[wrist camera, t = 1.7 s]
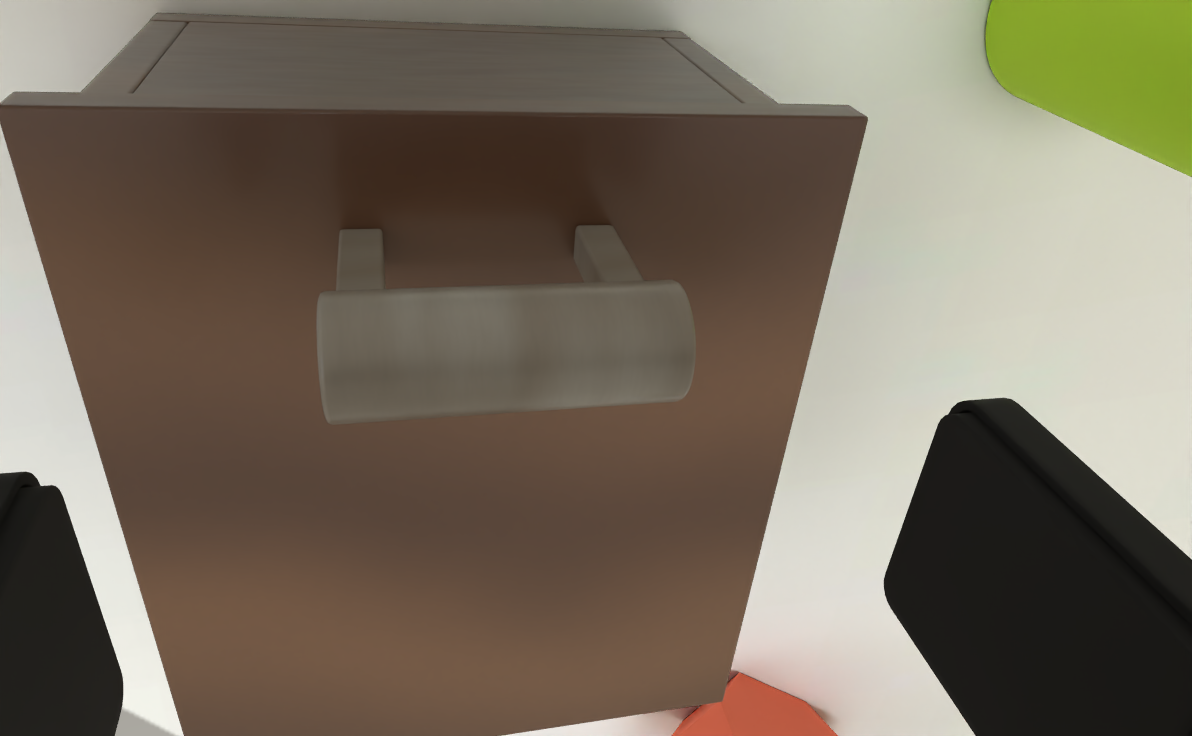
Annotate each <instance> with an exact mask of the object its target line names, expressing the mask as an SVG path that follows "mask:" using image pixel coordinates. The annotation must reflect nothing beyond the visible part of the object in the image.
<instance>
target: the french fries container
mask: <svg viewBox="0 0 1192 736" xmlns="http://www.w3.org/2000/svg"><path fill="white" fill-rule="evenodd" d="M672 736H838V735H837V734H836V733H835V732H834V731H833V730H832V729H831V728H830V727H829V726H828V725H827V724H826V723H825V722H824V721H823V719H822V718H821V717H820V716H819V715H818V714H817V713H816V712H815V711H814V710H813V709H812V708H811V707H810V706H809V705H808V704H807V702H805V701H803V700H800V699H798V698H796V697H794V696H791V695H789V694H787V693H785V692H782V691H780V690H778V689H775V688H773V687H771V686H769V685H766V684H764V683H762V682H760V681H757V680H755V679H753V678H751V677H748V676H746V675H744V674H741V673H738V674H737V675H736V676H735V677H734V678H732V679H731V680H730V681H729V682H728V683H727V686H726V690H725V694H724V698H723V701H722V702H717V703H711V704H704V705H701V706H700V707H699V708H697V709H696V710H695V711H694V712H693V713H692V714H690V715H689V716H688V717H687V718H686V719H685V720H683V721H682V723H681V724H680V725H679V727H678V728H677V729H676V731H675V732H674V733H673V735H672Z"/></svg>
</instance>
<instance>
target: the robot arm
mask: <svg viewBox="0 0 1192 736" xmlns="http://www.w3.org/2000/svg"><path fill="white" fill-rule="evenodd" d="M884 590H885V596H886V599H887V602H888V604H889V605H890V607H891V609H892V611H893V612H894V614H895V615H896V617H897V618H898V620H899V621H900V623H901V624H902V626H903V627H904V629H905V630H906V632H907V633H908V635H909V636H910V638H911V639H912V641H913V642H914V644H915V645H916V647H917V648H918V650H919V651H920V653H921V654H922V656H923V657H924V659H925V660H926V662H927V663H928V665H929V666H930V668H931V669H932V671H933V672H934V674H935V675H936V677H937V678H938V680H939V681H940V683H941V684H942V686H943V687H944V689H945V690H946V692H947V693H948V695H949V696H950V698H951V699H952V701H953V702H954V704H955V705H956V707H957V708H958V710H959V711H960V713H961V714H962V716H963V717H964V719H965V720H966V722H967V723H968V725H969V726H970V728H971V729H972V731H973V732H974V734H975V735H976V736H1192V560H1191V559H1190V558H1189V557H1188V556H1187V555H1186V554H1185V553H1184V552H1183V551H1181V550H1180V549H1179V548H1178V547H1177V546H1176V545H1175V544H1174V543H1173V542H1171V541H1170V540H1169V539H1168V538H1167V537H1166V536H1165V535H1164V534H1163V533H1161V532H1160V531H1159V530H1158V529H1157V528H1156V527H1155V526H1154V525H1153V524H1151V523H1150V522H1149V521H1148V520H1147V519H1146V518H1145V517H1144V516H1143V515H1141V514H1140V513H1139V512H1138V511H1137V510H1136V509H1135V508H1134V507H1133V506H1131V505H1130V504H1129V503H1128V502H1127V501H1126V500H1125V499H1124V498H1123V497H1121V496H1120V495H1119V494H1118V493H1117V492H1116V491H1115V490H1114V489H1113V488H1111V487H1110V486H1109V485H1108V484H1107V483H1106V482H1105V481H1104V480H1103V479H1101V478H1100V477H1099V476H1098V475H1097V474H1096V473H1095V472H1094V471H1093V470H1091V469H1090V468H1089V467H1088V466H1087V465H1086V464H1085V463H1084V462H1083V461H1081V460H1080V459H1079V458H1078V457H1077V456H1076V455H1075V454H1074V453H1073V452H1071V451H1070V450H1069V449H1068V448H1067V447H1066V446H1065V445H1064V444H1063V443H1061V442H1060V441H1059V440H1058V439H1057V438H1056V437H1055V436H1054V435H1053V434H1051V433H1050V432H1049V431H1048V430H1047V429H1046V428H1045V427H1044V426H1043V425H1041V424H1040V423H1039V422H1038V421H1037V420H1036V419H1035V418H1034V417H1033V416H1031V415H1030V414H1029V413H1028V412H1027V411H1026V410H1025V409H1024V408H1023V407H1021V406H1020V405H1019V404H1018V403H1016V402H1015V401H1013V400H1012V399H1007V398H995V399H981V400H968V401H962V402H959V403H957V404H956V405H955V406H954V407H953V408H952V409H951V411H950V413H949V415H945V416H944V417H943V418H942V419H941V420H940V422H939V424H938V426H937V429H936V432H935V435H934V438H933V440H932V443H931V446H930V449H929V452H928V455H927V457H926V460H925V463H924V466H923V469H922V472H921V474H920V477H919V480H918V483H917V486H916V489H915V491H914V494H913V497H912V500H911V503H910V506H909V508H908V511H907V514H906V517H905V520H904V523H903V525H902V528H901V531H900V534H899V537H898V540H897V542H896V545H895V548H894V551H893V554H892V557H891V559H890V562H889V565H888V568H887V571H886V574H885V578H884ZM122 702H123V678H122V673H121V669H120V666H119V663H118V660H117V657H116V654H115V651H114V648H113V645H112V642H111V639H110V636H109V633H108V630H107V627H106V624H105V621H104V618H103V615H102V612H101V609H100V606H99V603H98V600H97V597H96V594H95V591H94V588H93V585H92V582H91V579H90V576H89V573H88V570H87V567H86V564H85V561H84V558H83V555H82V552H81V549H80V546H79V543H78V540H77V537H76V534H75V531H74V528H73V525H72V522H71V519H70V516H69V514H68V511H67V508H66V505H65V502H64V499H63V496H62V494H61V492H60V490H59V489H58V488H57V487H56V486H52V485H50V486H40V484H39V482H38V480H37V478H36V477H35V476H34V475H33V474H32V473H29V472H15V473H2V474H0V736H115V732H116V728H117V724H118V721H119V717H120V713H121V708H122Z"/></svg>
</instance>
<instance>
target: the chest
mask: <svg viewBox="0 0 1192 736" xmlns="http://www.w3.org/2000/svg"><path fill="white" fill-rule="evenodd" d="M80 93H133V94H196V95H259V96H321V97H384V98H447V99H509V100H572V101H635V102H697V103H760V104H778V103H777V102H775V101H774V100H773V99H771V98H770V97H769V96H767V95H766V94H765V93H763V92H762V91H760V90H759V89H758V88H756V87H755V86H754V85H752V84H751V83H750V82H748V81H747V80H746V79H744V78H743V77H741V76H740V75H739V74H737V73H736V72H735V71H733V70H732V69H731V68H729V67H728V66H727V65H725V64H724V63H722V62H721V61H720V60H718V59H717V58H716V57H714V56H713V55H712V54H710V53H709V52H708V51H706V50H705V49H703V48H702V47H701V46H699V45H698V44H697V43H695V42H694V41H693V40H691V38H689V37H688V36H687V35H685V34H684V33H683V32H680V31H652V30H624V29H596V28H568V27H540V26H512V25H484V24H456V23H428V22H400V21H372V20H344V19H316V18H288V17H260V16H232V15H204V14H176V13H156V14H155V15H154V16H153V17H152V18H151V19H150V21H149V22H148V23H147V24H146V25H145V26H144V27H143V29H142V30H141V31H140V32H139V33H138V34H137V35H136V36H135V37H134V38H133V39H132V40H131V41H130V42H129V43H128V44H127V45H126V46H125V47H124V48H123V49H122V50H121V51H120V52H119V53H118V54H117V55H116V56H115V57H114V58H113V59H112V60H111V61H110V62H109V63H108V64H107V66H106V67H105V68H104V69H103V70H102V71H101V72H100V73H99V74H98V75H97V76H96V77H95V78H94V79H93V80H92V81H91V82H90V83H89V84H88V85H87V86H86V87H85V88H84V89H83V90H82V91H81V92H80Z"/></svg>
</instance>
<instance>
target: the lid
mask: <svg viewBox="0 0 1192 736" xmlns="http://www.w3.org/2000/svg"><path fill="white" fill-rule="evenodd" d="M867 121H868V118H867V116H865V115H863V114H862V113H860V112H859V111H857V110H855V109H854V108H852V107H851V106H849V105H823V104H760V103H697V102H635V101H572V100H509V99H447V98H384V97H321V96H259V95H196V94H133V93H71V92H13V93H12V94H10V95H9V96H8V97H7V98H6V99H4V100H3V101H2V102H1V103H0V124H1V127H2V131H3V134H4V137H5V141H6V144H7V147H8V151H9V154H10V157H11V161H12V164H13V167H14V171H15V174H16V177H17V181H18V184H19V187H20V191H21V194H22V197H23V201H24V204H25V207H26V211H27V214H28V217H29V221H30V224H31V227H32V231H33V234H34V237H35V241H36V244H37V247H38V251H39V254H40V257H41V261H42V264H43V267H44V271H45V274H46V277H47V281H48V284H49V287H50V291H51V294H52V297H53V301H54V304H55V307H56V311H57V314H58V317H59V321H60V324H61V327H62V331H63V334H64V337H65V341H66V344H67V347H68V351H69V354H70V357H71V361H72V364H73V367H74V371H75V374H76V377H77V381H78V384H79V387H80V391H81V394H82V397H83V401H84V404H85V407H86V411H87V414H88V417H89V421H90V424H91V428H92V431H93V434H94V438H95V441H96V444H97V448H98V451H99V454H100V458H101V461H102V464H103V468H104V471H105V474H106V478H107V481H108V484H109V488H110V491H111V494H112V498H113V501H114V504H115V508H116V511H117V514H118V518H119V521H120V524H121V528H122V531H123V534H124V538H125V541H126V544H127V548H128V551H129V554H130V558H131V561H132V564H133V568H134V571H135V574H136V578H137V581H138V584H139V588H140V591H141V594H142V598H143V601H144V604H145V608H146V611H147V614H148V618H149V621H150V624H151V628H152V631H153V634H154V638H155V641H156V644H157V648H158V651H159V654H160V658H161V661H162V664H163V668H164V671H165V674H166V678H167V681H168V684H169V688H170V691H171V694H172V698H173V701H174V704H175V708H176V711H177V714H178V718H179V721H180V724H181V728H182V731H183V734H184V736H501V735H508V734H514V733H521V732H528V731H534V730H541V729H547V728H554V727H560V726H567V725H573V724H580V723H586V722H593V721H600V720H606V719H613V718H619V717H626V716H632V715H639V714H645V713H652V712H658V711H665V710H672V709H678V708H685V707H691V706H698V705H704V704H711V703H717V702H722V701H723V698H724V694H725V690H726V686H727V682H728V678H729V674H730V670H731V666H732V662H733V658H734V654H735V650H736V646H737V642H738V638H739V634H740V630H741V626H742V622H743V618H744V614H745V610H746V606H747V602H748V598H749V594H750V590H751V586H752V582H753V578H754V574H755V570H756V566H757V562H758V558H759V554H760V550H761V546H762V542H763V538H764V534H765V530H766V526H767V522H768V518H769V514H770V510H771V506H772V502H773V498H774V494H775V490H776V486H777V482H778V478H779V474H780V469H781V465H782V461H783V457H784V453H785V449H786V445H787V441H788V437H789V433H790V429H791V425H792V421H793V417H794V413H795V409H796V405H797V401H798V397H799V393H800V389H801V385H802V381H803V377H804V373H805V369H806V365H807V361H808V357H809V353H810V349H811V345H812V341H813V337H814V333H815V329H816V325H817V321H818V317H819V313H820V309H821V305H822V301H823V297H824V293H825V289H826V285H827V281H828V277H829V273H830V269H831V265H832V261H833V257H834V253H835V249H836V245H837V241H838V237H839V233H840V229H841V225H842V221H843V217H844V213H845V209H846V205H847V201H848V197H849V193H850V189H851V185H852V181H853V177H854V173H855V169H856V165H857V161H858V157H859V153H860V149H861V145H862V141H863V137H864V133H865V129H866V125H867Z"/></svg>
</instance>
